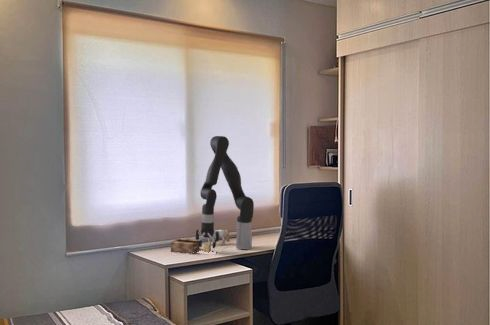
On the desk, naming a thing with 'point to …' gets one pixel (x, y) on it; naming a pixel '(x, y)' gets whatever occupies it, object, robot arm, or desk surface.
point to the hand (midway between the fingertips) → (207, 247)
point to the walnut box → (184, 245)
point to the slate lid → (207, 248)
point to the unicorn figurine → (221, 233)
